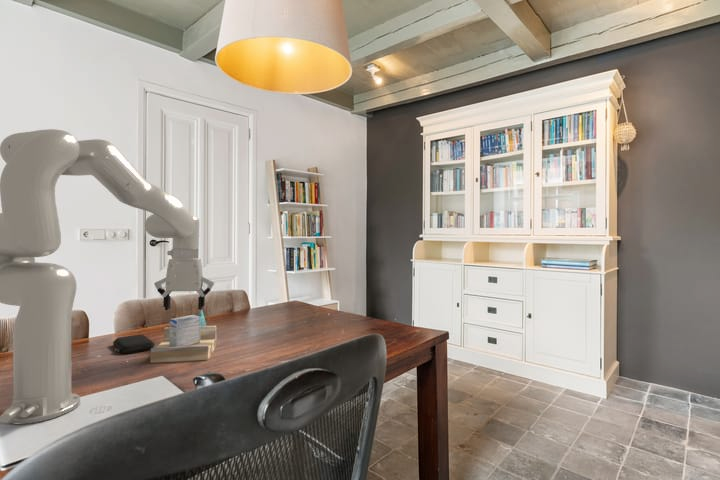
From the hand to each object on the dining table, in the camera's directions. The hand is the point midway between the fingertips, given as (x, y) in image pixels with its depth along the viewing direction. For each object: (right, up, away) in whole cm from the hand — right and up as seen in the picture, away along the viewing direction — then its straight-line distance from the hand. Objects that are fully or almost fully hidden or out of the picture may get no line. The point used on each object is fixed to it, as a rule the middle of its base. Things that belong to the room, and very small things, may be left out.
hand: (184, 309), depth 118 cm
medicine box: (0, -12, 0) cm, 12 cm away
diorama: (-10, -14, +25) cm, 31 cm away
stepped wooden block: (0, -14, +1) cm, 14 cm away
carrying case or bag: (-21, -15, +7) cm, 26 cm away
